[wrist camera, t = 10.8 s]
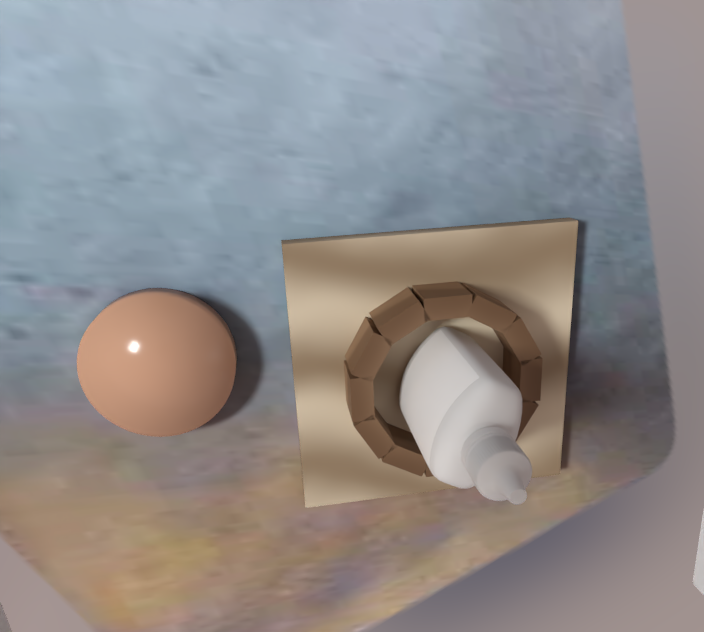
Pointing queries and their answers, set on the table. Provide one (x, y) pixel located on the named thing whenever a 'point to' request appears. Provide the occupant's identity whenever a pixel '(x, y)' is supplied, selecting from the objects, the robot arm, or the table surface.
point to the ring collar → (410, 331)
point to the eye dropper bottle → (465, 416)
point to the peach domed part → (157, 362)
